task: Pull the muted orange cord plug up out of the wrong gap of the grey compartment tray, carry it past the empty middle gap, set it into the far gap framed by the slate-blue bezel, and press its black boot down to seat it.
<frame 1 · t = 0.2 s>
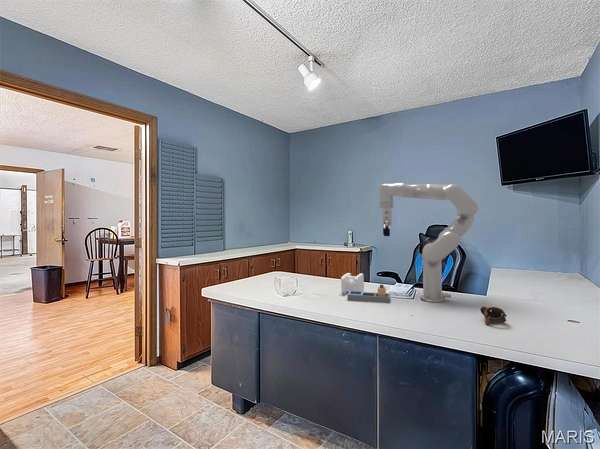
hand: (386, 235, 180), 36 cm above the table, tool pointing down, fingers open, 9 cm apart
grey compartment tray: (368, 302, 173), on the table
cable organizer: (352, 293, 193), on the table
plug: (381, 300, 171), point 1 cm above the table, touching grey compartment tray
brown turtle figurine: (492, 323, 137), on the table
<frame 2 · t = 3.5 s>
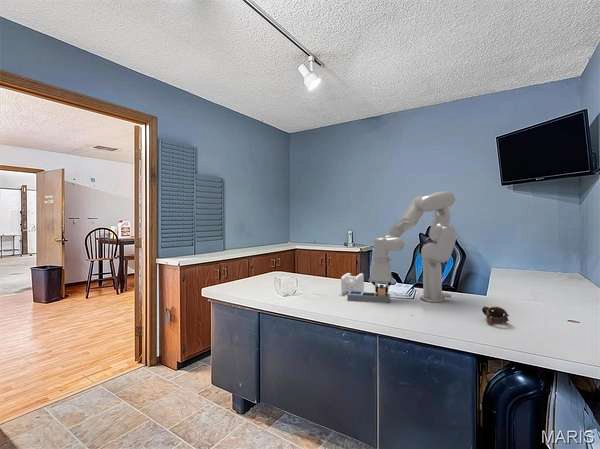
hand: (381, 293, 170), 5 cm above the table, tool pointing down, fingers closed on plug, 4 cm apart
plug: (381, 300, 171), point 2 cm above the table, touching grey compartment tray, gripper
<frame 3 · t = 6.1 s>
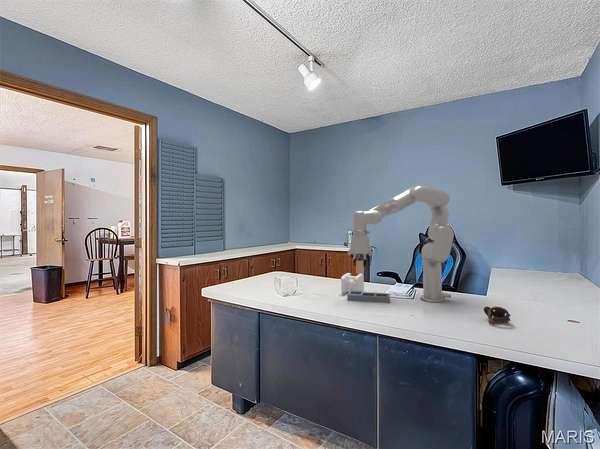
hand: (359, 266, 173), 20 cm above the table, tool pointing down, fingers closed on plug, 4 cm apart
plug: (359, 272, 173), point 16 cm above the table, touching gripper
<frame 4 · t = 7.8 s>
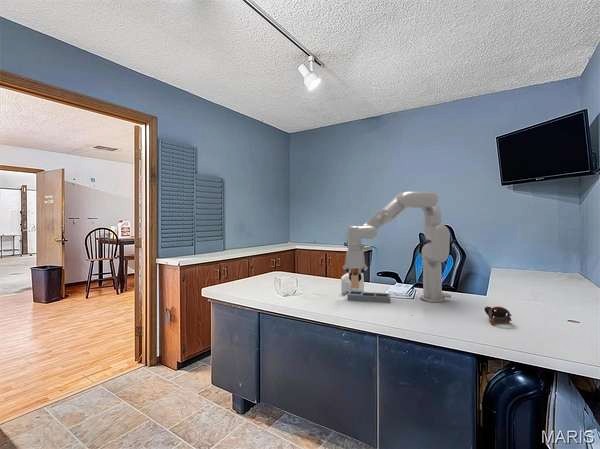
hand: (355, 280, 174), 12 cm above the table, tool pointing down, fingers closed on plug, 4 cm apart
plug: (355, 287, 174), point 8 cm above the table, touching gripper
when the fingers open (6 cm above the table, at t = 9.1 s): plug stays where it is, resting on grey compartment tray.
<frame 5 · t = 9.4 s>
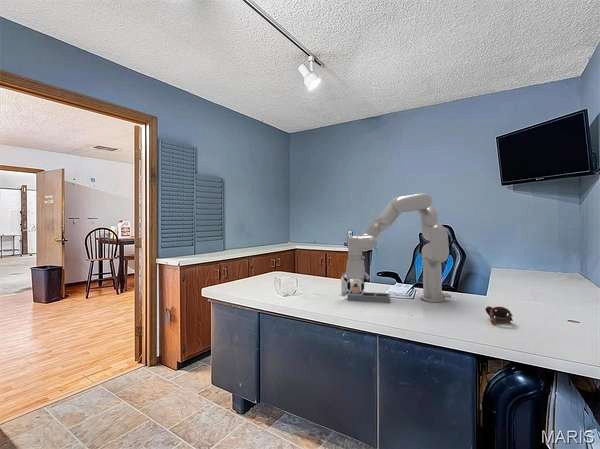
hand: (355, 289, 174), 7 cm above the table, tool pointing down, fingers open, 6 cm apart
plug: (356, 299, 175), point 1 cm above the table, touching grey compartment tray
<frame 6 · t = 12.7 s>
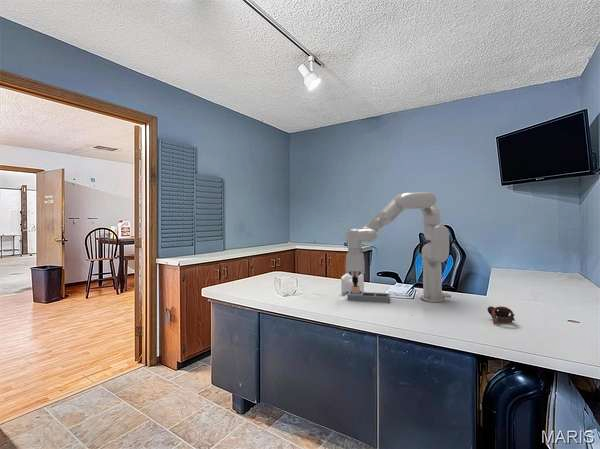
hand: (355, 283, 174), 10 cm above the table, tool pointing down, fingers closed
plug: (356, 299, 175), point 2 cm above the table, touching grey compartment tray, gripper
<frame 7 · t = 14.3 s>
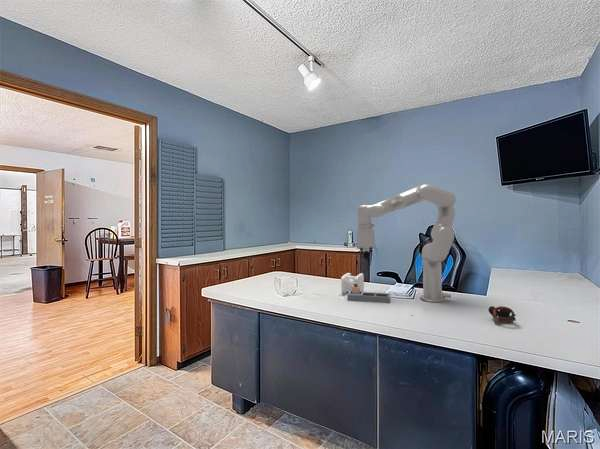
hand: (366, 258, 179), 23 cm above the table, tool pointing down, fingers closed
plug: (356, 299, 175), point 1 cm above the table, touching grey compartment tray
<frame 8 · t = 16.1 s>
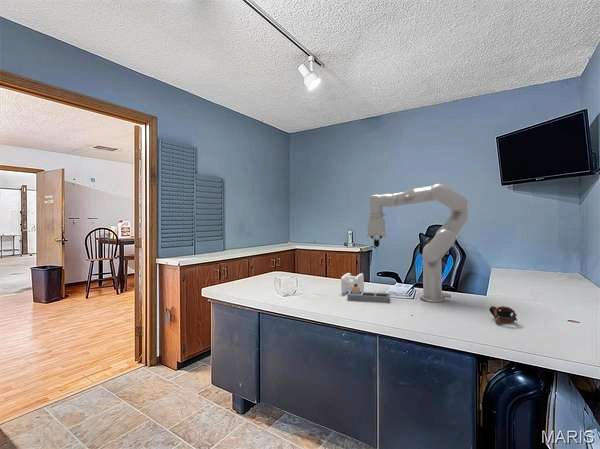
hand: (376, 246, 185), 29 cm above the table, tool pointing down, fingers closed
at the end: plug 0.1 cm from the target spot on the grey compartment tray, point 1.5 cm above the grey compartment tray's base; plug tilted 0°; the gripper is holding nothing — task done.
